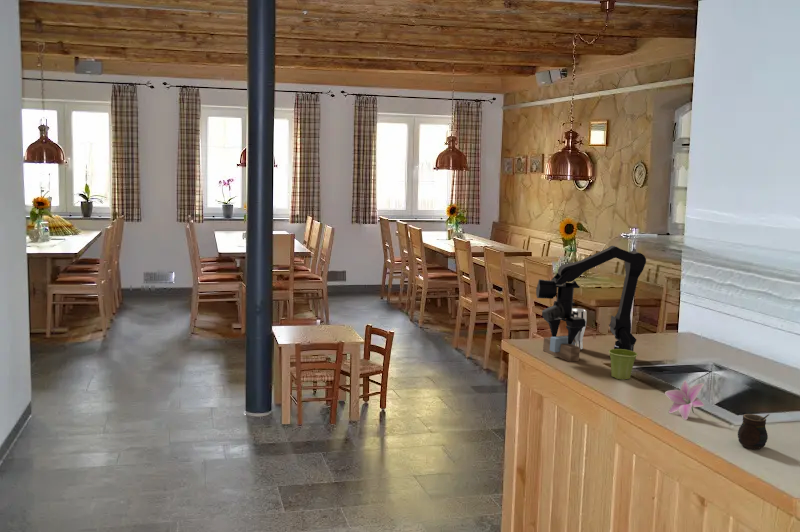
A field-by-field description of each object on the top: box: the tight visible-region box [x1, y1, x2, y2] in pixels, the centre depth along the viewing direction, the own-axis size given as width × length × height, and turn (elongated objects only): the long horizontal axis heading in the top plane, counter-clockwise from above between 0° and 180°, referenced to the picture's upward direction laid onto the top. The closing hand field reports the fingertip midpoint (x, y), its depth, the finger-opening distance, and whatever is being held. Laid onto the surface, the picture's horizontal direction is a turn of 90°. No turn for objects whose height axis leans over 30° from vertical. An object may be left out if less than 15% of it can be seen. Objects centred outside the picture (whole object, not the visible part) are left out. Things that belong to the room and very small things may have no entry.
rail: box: [542, 336, 581, 363], centre depth 296 cm, size 4×16×5 cm, turn 27°
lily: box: [664, 380, 706, 421], centre depth 234 cm, size 12×12×10 cm
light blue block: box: [550, 335, 573, 352], centre depth 296 cm, size 8×3×5 cm, turn 117°
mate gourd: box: [737, 413, 770, 451], centre depth 209 cm, size 7×8×10 cm
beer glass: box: [572, 307, 588, 351], centre depth 309 cm, size 7×7×15 cm
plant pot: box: [608, 348, 639, 381], centre depth 271 cm, size 9×9×9 cm
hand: (561, 341), depth 296 cm, fingers open, 9 cm apart
